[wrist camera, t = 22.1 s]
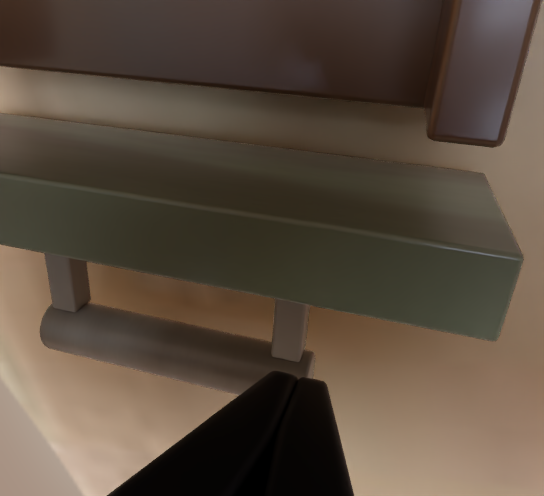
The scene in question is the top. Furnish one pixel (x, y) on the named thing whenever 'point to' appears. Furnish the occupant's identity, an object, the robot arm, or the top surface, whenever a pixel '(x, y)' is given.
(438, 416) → the top surface
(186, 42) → the drawer
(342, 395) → the top surface
